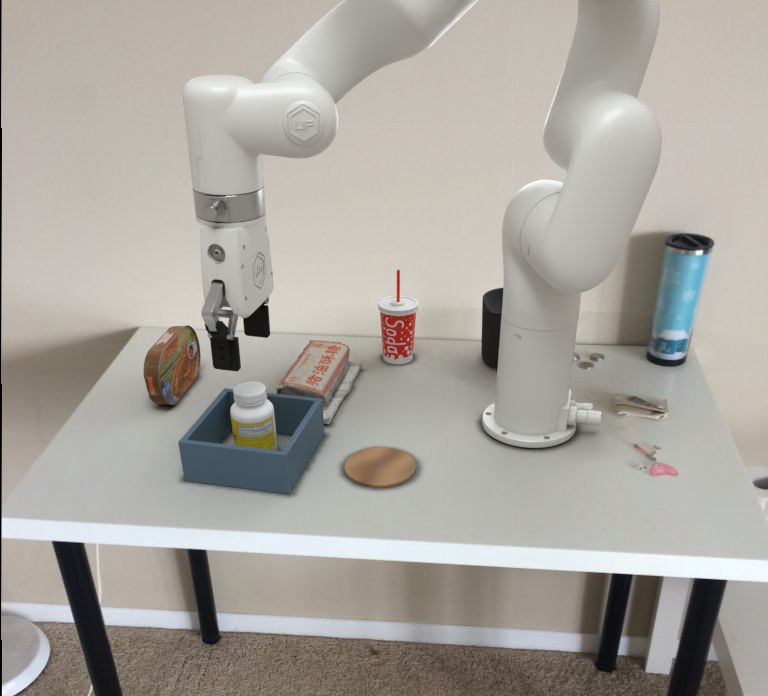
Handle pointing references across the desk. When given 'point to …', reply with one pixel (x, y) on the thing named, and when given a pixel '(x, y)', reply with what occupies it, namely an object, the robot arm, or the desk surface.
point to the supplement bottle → (253, 417)
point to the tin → (172, 365)
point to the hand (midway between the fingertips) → (242, 351)
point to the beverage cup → (398, 326)
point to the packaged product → (321, 375)
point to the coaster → (380, 467)
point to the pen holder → (491, 326)
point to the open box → (250, 464)
